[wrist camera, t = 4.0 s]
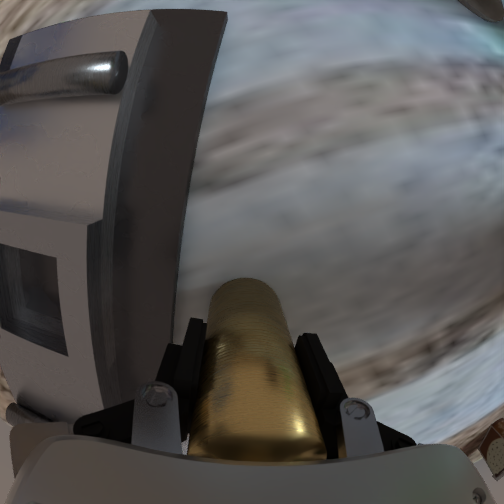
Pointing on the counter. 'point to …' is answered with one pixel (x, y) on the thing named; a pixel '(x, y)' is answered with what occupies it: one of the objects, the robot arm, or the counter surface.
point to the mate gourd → (486, 9)
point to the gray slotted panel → (96, 202)
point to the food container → (494, 449)
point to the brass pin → (252, 383)
